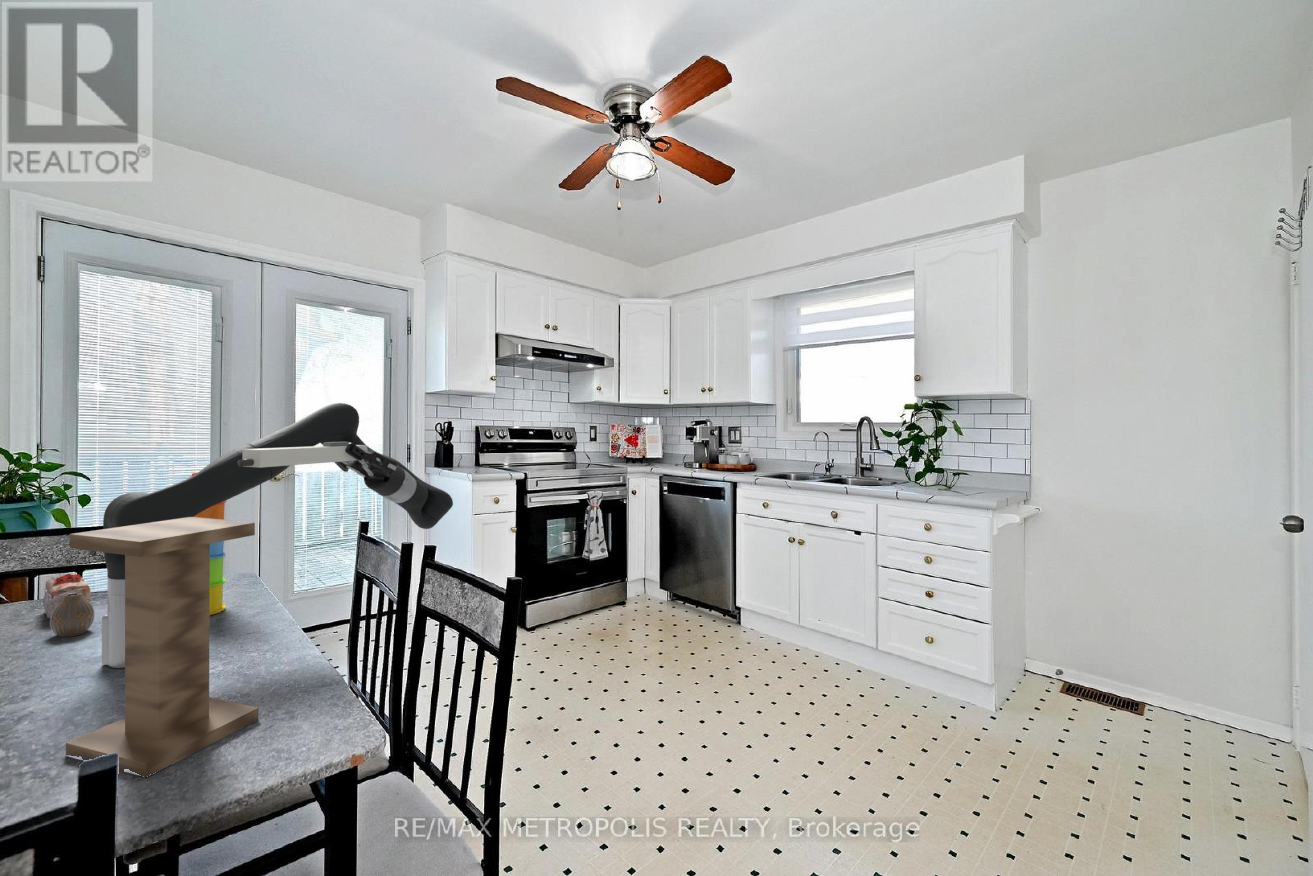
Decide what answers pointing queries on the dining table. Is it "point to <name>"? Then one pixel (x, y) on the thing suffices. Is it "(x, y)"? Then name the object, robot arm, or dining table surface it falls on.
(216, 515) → the stacking cups
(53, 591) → the food item
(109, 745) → the stand
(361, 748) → the dining table surface
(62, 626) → the vase
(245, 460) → the white long block
